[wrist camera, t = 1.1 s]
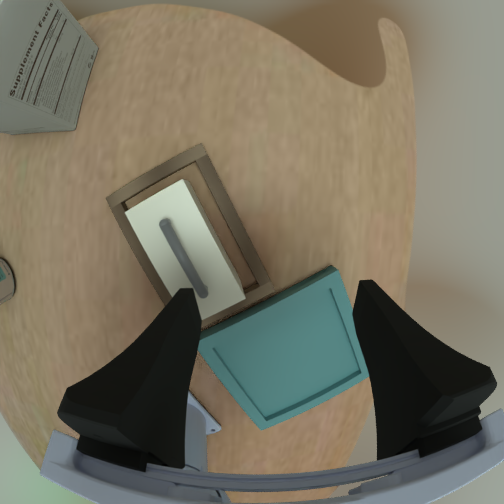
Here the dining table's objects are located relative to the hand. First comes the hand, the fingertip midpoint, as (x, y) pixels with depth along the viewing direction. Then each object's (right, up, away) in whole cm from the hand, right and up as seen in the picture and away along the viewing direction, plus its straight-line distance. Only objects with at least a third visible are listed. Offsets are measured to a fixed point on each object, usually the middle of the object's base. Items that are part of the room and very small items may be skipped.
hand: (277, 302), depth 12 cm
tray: (+3, -8, +14) cm, 17 cm away
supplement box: (-20, +18, +6) cm, 27 cm away
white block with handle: (-6, +3, +11) cm, 13 cm away
